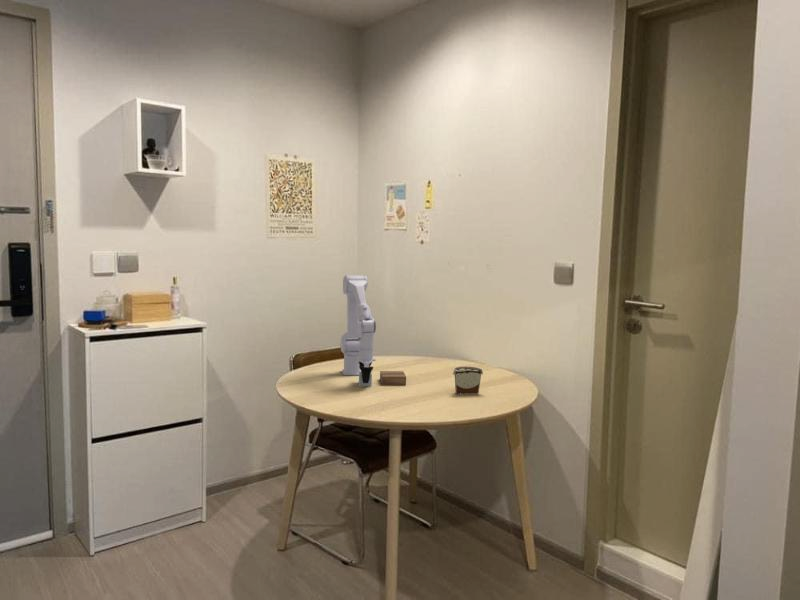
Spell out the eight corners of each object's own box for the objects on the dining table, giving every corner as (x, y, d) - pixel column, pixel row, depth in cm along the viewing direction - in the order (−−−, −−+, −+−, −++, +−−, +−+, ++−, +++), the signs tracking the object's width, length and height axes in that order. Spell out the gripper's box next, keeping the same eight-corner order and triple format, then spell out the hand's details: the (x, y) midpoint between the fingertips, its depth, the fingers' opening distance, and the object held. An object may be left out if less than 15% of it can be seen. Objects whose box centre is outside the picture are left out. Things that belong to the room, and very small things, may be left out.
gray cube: (358, 383, 250) (359, 371, 249) (370, 383, 250) (371, 371, 250) (359, 386, 245) (359, 374, 244) (371, 386, 245) (371, 374, 245)
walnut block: (379, 380, 258) (380, 371, 258) (402, 380, 259) (403, 371, 259) (382, 385, 248) (382, 376, 248) (405, 386, 250) (406, 376, 249)
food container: (476, 389, 246) (477, 365, 245) (481, 393, 241) (483, 369, 239) (447, 390, 243) (449, 366, 242) (452, 394, 238) (454, 369, 236)
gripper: (377, 352, 239) (376, 385, 241) (374, 345, 253) (373, 376, 255) (359, 351, 238) (358, 385, 240) (358, 345, 253) (357, 376, 254)
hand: (365, 380), depth 247 cm, fingers open, 7 cm apart
